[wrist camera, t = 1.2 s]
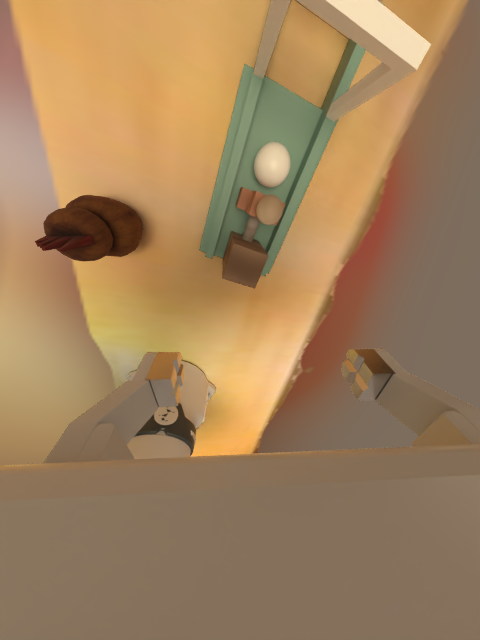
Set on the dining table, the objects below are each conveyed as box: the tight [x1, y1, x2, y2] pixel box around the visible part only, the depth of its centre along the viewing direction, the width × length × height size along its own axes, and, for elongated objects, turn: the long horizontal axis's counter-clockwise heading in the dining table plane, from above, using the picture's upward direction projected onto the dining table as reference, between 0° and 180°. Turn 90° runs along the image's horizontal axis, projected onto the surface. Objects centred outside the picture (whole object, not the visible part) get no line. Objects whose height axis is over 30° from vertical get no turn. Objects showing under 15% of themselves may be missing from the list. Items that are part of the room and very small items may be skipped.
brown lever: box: [222, 187, 285, 288], centre depth 23 cm, size 9×5×10 cm, turn 160°
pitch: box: [199, 0, 431, 276], centre depth 19 cm, size 25×11×14 cm, turn 160°
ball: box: [254, 142, 291, 188], centre depth 22 cm, size 4×4×4 cm
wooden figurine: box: [35, 195, 142, 261], centre depth 20 cm, size 7×6×15 cm
